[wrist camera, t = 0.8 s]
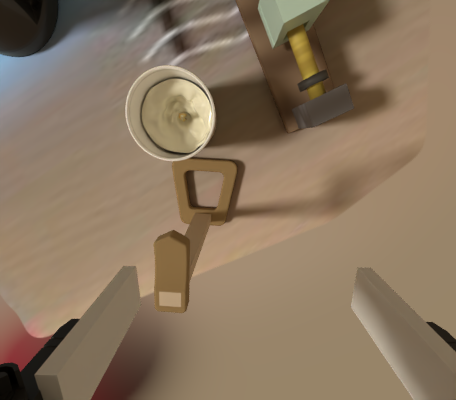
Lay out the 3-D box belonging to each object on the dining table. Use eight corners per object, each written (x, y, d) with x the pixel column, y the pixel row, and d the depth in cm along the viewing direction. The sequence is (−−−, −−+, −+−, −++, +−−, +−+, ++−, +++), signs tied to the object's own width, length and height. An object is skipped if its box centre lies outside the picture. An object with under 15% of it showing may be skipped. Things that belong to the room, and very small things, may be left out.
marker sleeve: (257, 8, 30) (264, -31, 23) (295, -13, 29) (314, -60, 22) (272, 48, 31) (283, 23, 24) (309, 29, 30) (331, -3, 23)
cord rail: (233, -4, 33) (233, -51, 24) (288, -36, 32) (307, -95, 23) (287, 133, 37) (301, 132, 29) (336, 109, 36) (366, 102, 28)
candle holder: (234, 129, 37) (233, 126, 26) (185, 165, 39) (164, 178, 27) (196, 73, 35) (176, 43, 24) (146, 114, 37) (106, 104, 26)
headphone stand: (238, 160, 39) (240, 192, 17) (233, 224, 41) (231, 317, 20) (173, 156, 39) (98, 182, 17) (173, 220, 42) (109, 308, 20)
